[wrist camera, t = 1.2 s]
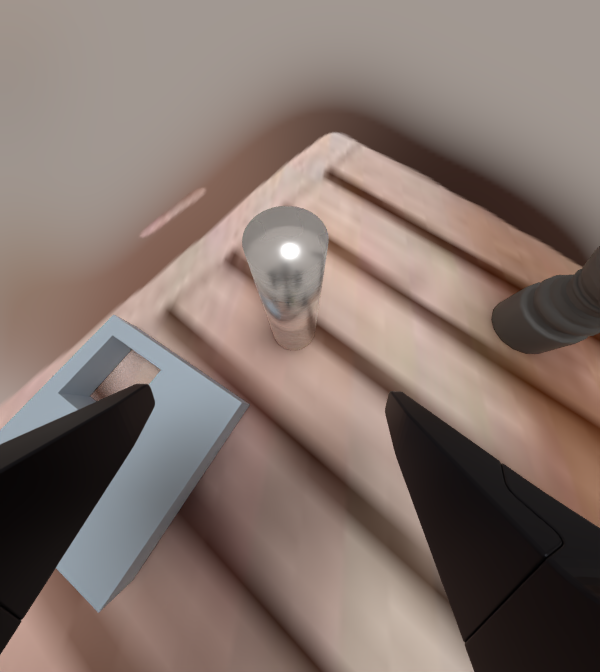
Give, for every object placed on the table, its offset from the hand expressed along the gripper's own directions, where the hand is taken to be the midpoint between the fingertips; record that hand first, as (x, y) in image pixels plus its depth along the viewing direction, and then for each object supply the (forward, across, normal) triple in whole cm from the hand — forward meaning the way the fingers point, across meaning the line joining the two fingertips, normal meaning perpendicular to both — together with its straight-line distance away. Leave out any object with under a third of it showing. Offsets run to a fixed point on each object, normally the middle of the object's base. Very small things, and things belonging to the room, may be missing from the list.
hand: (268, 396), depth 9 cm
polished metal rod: (+15, 0, +4) cm, 16 cm away
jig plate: (+8, +14, +11) cm, 19 cm away
